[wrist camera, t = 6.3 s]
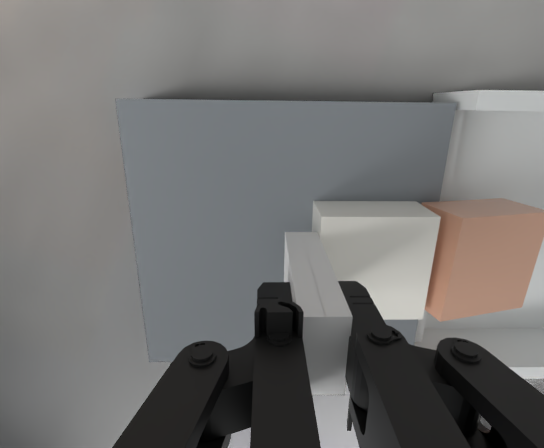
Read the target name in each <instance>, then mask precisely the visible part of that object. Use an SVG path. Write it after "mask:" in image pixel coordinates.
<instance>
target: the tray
mask: <svg viewBox="0 0 544 448" xmlns="http://www.w3.org/2000/svg"><path fill="white" fill-rule="evenodd" d="M432 103H457V104H456V110H455V116H454V121H453V127H452V133H451V138H450V144H449V150H448V155H447V161H446V167H445V172H444V178H443V184H442V189H441V195H440V201H457V200H475V199H493V198H504V199H508V200H511V201H515V202H518V203H522V204H525V205H529V206H533V207H536V208H540V209H543V210H544V91H527V90H470V91H457V92H443V93H434V94H433V100H432ZM445 338H461V339H466V340H469V341H471V342H474V343H476V344H478V345H480V346H481V347H483V348H485V349H486V350H487V351H489V352H490V353H491V354H492V355H494V356H495V357H496V358H497V359H499V360H500V361H501V362H503V363H504V364H505V365H506V366H508V367H509V368H510V369H511V370H513V371H514V372H515V373H516V374H518V375H519V376H520V377H521V378H523V379H544V238H543V241H542V244H541V248H540V251H539V254H538V257H537V261H536V264H535V267H534V270H533V273H532V277H531V280H530V283H529V286H528V290H527V293H526V296H525V299H524V303H523V306H522V308H516V309H510V310H505V311H499V312H493V313H487V314H482V315H476V316H470V317H465V318H459V319H453V320H448V321H442V322H440V321H438V320H437V319H436V318H435V317H433V316H432V315H431V314H430V313H428V312H427V311H426V310H424V315H423V319H418V325H417V331H416V336H415V342H414V346H418V347H423V348H428V349H433V350H436V349H437V345H438V343H439V342H440V340H443V339H445Z"/></svg>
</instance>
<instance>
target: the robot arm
mask: <svg viewBox="0 0 544 448" xmlns="http://www.w3.org/2000/svg"><path fill="white" fill-rule="evenodd" d="M254 325H255V336H254V337H253V339H252V340H251V341H250V342H249V343H248V344H246V345H244V346H242V347H240V348H237V349H234V350H230V351H227V349H226V348H225V347H224V346H223V345H222V344H221V343H218V342H214V341H199V342H195V343H192V344H190V345H188V346H186V347H184V348H183V349H182V350H181V351H180V352H179V353H178V355H177V356H176V358H175V359H174V360H173V362H172V363H171V365H170V366H169V368H168V369H167V370H166V372H165V373H164V375H163V376H162V378H161V379H160V380H159V382H158V383H157V385H156V386H155V388H154V389H153V390H152V392H151V393H150V395H149V396H148V398H147V399H146V400H145V402H144V403H143V405H142V406H141V408H140V409H139V410H138V412H137V413H136V415H135V416H134V418H133V419H132V420H131V422H130V423H129V425H128V426H127V428H126V429H125V430H124V432H123V433H122V435H121V436H120V438H119V439H118V440H117V442H116V443H115V445H114V446H113V447H112V448H227V447H228V444H229V442H230V439H231V434H232V433H235V432H238V431H241V430H244V429H247V428H250V427H251V442H250V448H321V447H320V440H319V434H318V428H317V422H316V416H315V410H314V404H313V398H312V395H345V389H346V381H347V385H348V388H349V391H350V400H349V409H348V419H347V431H351V427H352V422H353V425H354V429H355V432H356V436H357V440H358V443H359V447H360V448H544V395H543V394H542V393H540V392H539V391H538V390H537V389H535V388H534V387H533V386H532V385H530V384H529V383H528V382H527V381H525V380H524V379H523V378H521V377H520V376H519V375H518V374H516V373H515V372H514V371H513V370H511V369H510V368H509V367H508V366H506V365H505V364H504V363H503V362H501V361H500V360H499V359H497V358H496V357H495V356H494V355H492V354H491V353H490V352H489V351H487V350H486V349H485V348H483V347H481V346H480V345H478V344H476V343H474V342H471V341H469V340H466V339H461V338H445V339H443V340H440V342H439V343H438V345H437V349H436V350H433V349H428V348H423V347H418V346H414V345H411V344H408V342H407V340H406V339H405V337H404V336H403V335H402V334H401V333H400V331H398V330H396V329H395V328H393V327H391V326H388V325H386V323H385V322H384V320H383V318H382V316H381V314H380V313H379V311H378V309H377V307H376V305H375V304H374V302H373V300H372V298H370V294H369V293H368V291H367V289H366V288H365V287H364V286H363V285H361V284H360V283H359V282H357V281H338V280H337V278H336V275H335V273H334V271H333V268H332V266H331V263H330V261H329V259H328V256H327V254H326V251H325V249H324V247H323V244H322V242H321V239H320V238H319V236H318V233H317V232H285V253H284V282H263V283H262V284H261V286H260V287H259V288H258V289H257V307H256V310H255V312H254ZM481 416H482V417H483V418H484V419H485V420H486V421H487V422H488V423H489V424H490V425H491V426H492V427H491V430H488V429H487V428H485V427H484V426H483V425H482V424H481V423H480V422H479V421H480V418H481Z"/></svg>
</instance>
